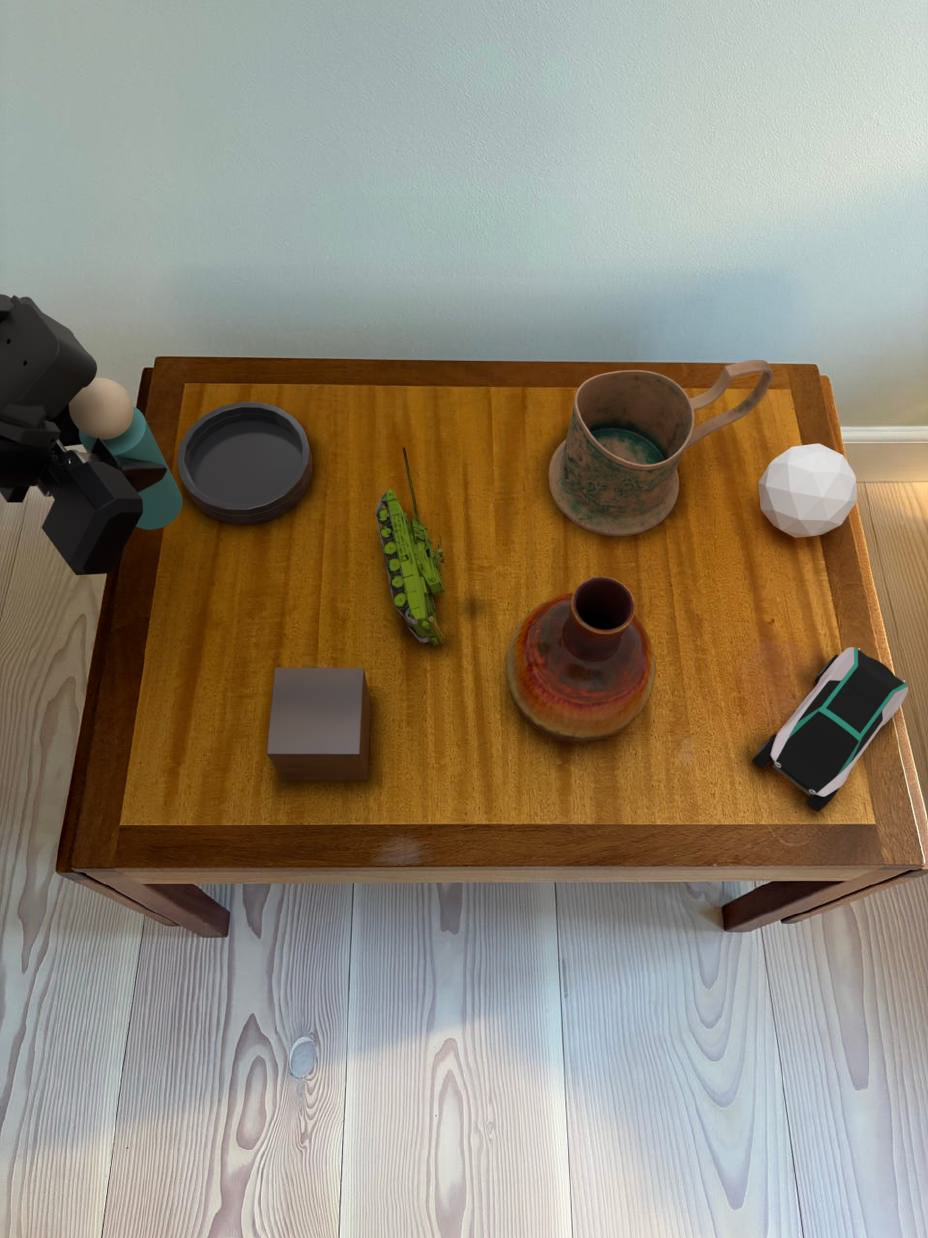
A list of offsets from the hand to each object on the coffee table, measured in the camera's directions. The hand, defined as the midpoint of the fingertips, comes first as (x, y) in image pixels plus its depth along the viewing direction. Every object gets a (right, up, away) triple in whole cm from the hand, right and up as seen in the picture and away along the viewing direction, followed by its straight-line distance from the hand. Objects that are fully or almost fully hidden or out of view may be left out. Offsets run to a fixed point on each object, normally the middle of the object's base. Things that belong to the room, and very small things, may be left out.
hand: (146, 451), depth 63 cm
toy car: (+51, -21, +7) cm, 55 cm away
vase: (+31, -18, +8) cm, 37 cm away
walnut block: (+12, -21, +5) cm, 25 cm away
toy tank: (+19, -6, +13) cm, 24 cm away
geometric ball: (+50, -5, +10) cm, 51 cm away
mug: (+39, +1, +17) cm, 42 cm away
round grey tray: (+4, +1, +16) cm, 16 cm away
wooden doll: (-1, -3, +5) cm, 6 cm away
